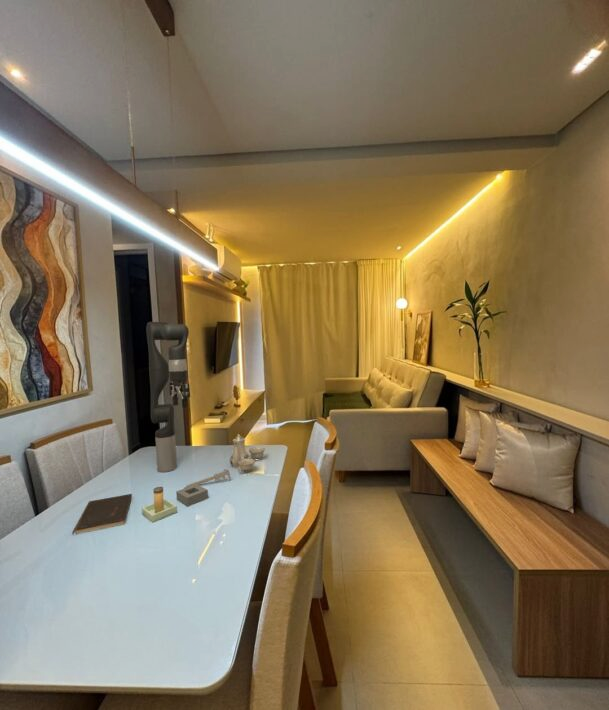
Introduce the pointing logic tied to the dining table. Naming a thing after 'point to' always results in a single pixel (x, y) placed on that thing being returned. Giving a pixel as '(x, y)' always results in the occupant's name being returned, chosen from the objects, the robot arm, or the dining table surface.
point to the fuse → (158, 499)
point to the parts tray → (150, 512)
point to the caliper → (212, 478)
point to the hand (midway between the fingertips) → (180, 406)
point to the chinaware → (244, 455)
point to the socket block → (192, 495)
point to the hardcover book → (103, 514)
